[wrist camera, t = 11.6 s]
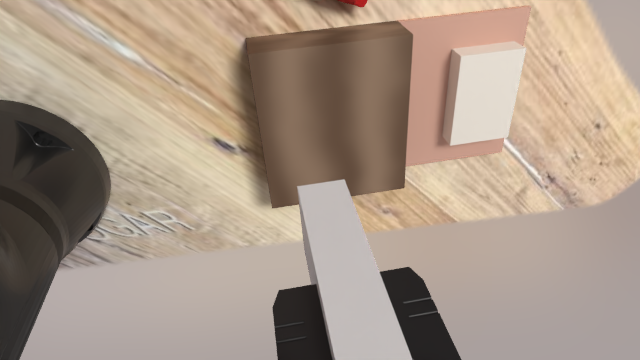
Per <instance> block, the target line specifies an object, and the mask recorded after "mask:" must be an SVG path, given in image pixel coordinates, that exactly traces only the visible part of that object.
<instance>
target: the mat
mask: <svg viewBox="0 0 640 360" xmlns="http://www.w3.org/2000/svg"><path fill="white" fill-rule="evenodd" d="M530 10H531V7H530V6H522V7H513V8H504V9H495V10H487V11H478V12H469V13H461V14H452V15H443V16H434V17H426V18H417V19H408V20H400V21H398V22H400V23H401V24H402V25H403V26H404V27H405V28H406V29H408V30H409V31H410V32H411V33H412V34H413V48H412V65H411V82H410V99H409V116H408V133H407V150H406V166H411V165H418V164H425V163H431V162H438V161H445V160H451V159H458V158H465V157H471V156H478V155H485V154H492V153H498V152H501V151H502V147H503V142H504V138H499V139H493V140H486V141H479V142H472V143H465V144H459V145H452V146H450V145H449V144H448V142H447V141H446V140H445V139H444V137H443V136H442V133H443V124H444V115H445V106H446V97H447V88H448V79H449V70H450V61H451V52H452V49H454V48H462V47H470V46H479V45H487V44H495V43H503V42H511V41H515V42H517V43H519V44H520V45H522V46H523V44H524V39H525V34H526V29H527V25H528V20H529V15H530Z"/></svg>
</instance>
